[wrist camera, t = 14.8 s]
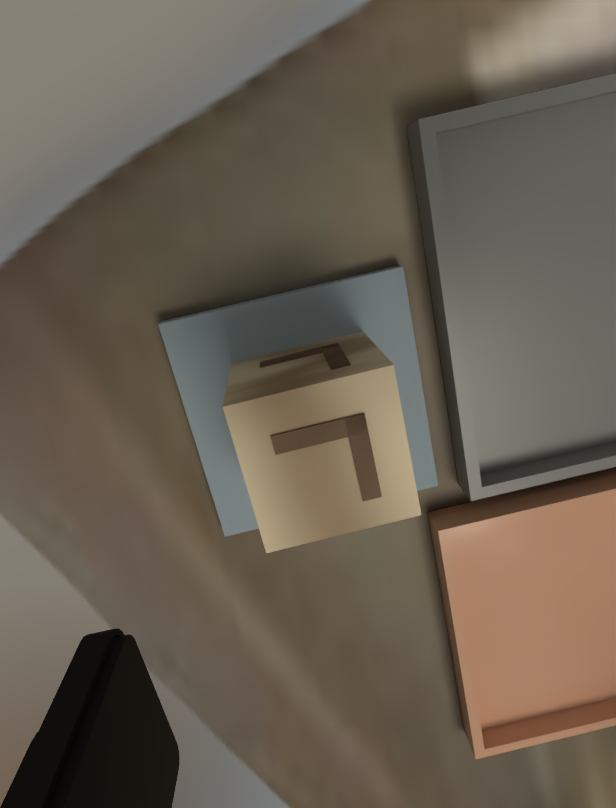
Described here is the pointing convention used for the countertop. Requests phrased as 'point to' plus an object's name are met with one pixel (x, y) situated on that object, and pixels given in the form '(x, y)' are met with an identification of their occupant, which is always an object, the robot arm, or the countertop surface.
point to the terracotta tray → (531, 610)
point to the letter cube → (321, 440)
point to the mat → (281, 330)
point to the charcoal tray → (524, 281)
